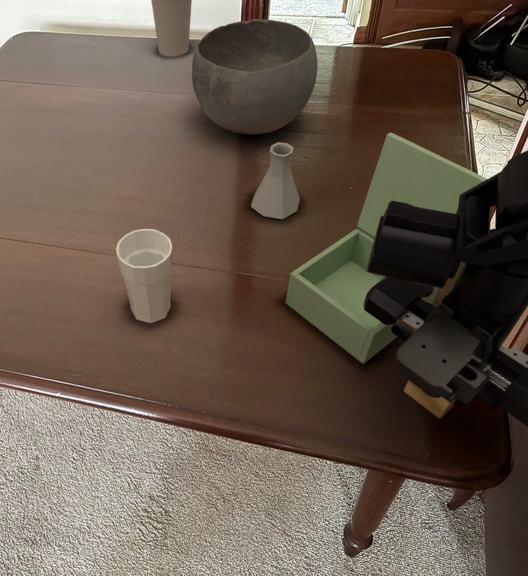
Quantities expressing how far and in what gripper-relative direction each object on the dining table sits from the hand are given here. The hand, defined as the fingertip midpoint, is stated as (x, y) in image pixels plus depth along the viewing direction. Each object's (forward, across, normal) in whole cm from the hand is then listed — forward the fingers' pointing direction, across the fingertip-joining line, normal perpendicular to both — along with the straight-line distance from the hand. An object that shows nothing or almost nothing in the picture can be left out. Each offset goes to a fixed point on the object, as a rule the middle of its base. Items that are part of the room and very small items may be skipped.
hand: (436, 388), depth 60 cm
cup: (+3, -31, -15) cm, 35 cm away
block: (+1, 0, 0) cm, 1 cm away
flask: (+3, -35, +12) cm, 37 cm away
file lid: (-10, -14, +11) cm, 20 cm away
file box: (+3, -14, +5) cm, 15 cm away
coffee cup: (+3, -86, +33) cm, 92 cm away
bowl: (+3, -54, +25) cm, 60 cm away
